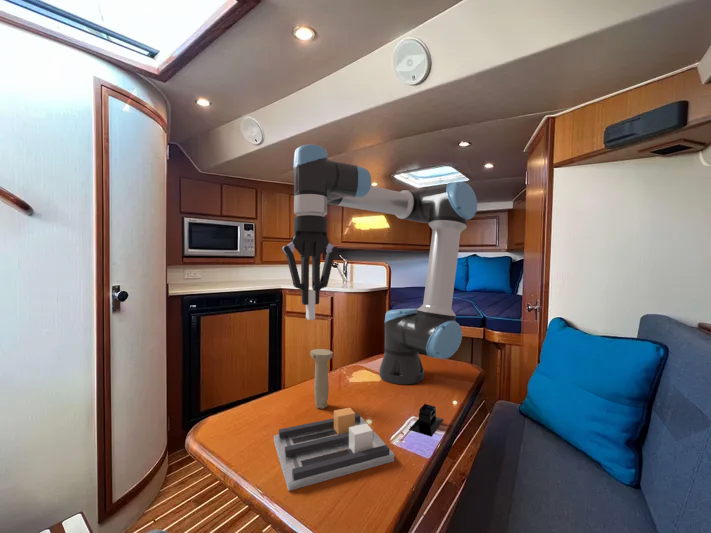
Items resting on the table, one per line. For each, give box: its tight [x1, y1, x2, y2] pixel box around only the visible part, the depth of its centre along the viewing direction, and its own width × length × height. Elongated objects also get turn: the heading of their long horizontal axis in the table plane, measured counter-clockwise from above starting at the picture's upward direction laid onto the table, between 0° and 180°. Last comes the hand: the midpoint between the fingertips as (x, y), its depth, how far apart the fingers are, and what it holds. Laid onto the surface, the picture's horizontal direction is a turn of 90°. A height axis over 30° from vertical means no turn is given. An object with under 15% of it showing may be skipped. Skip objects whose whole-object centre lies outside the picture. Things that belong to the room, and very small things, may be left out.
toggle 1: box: [333, 407, 356, 435], centre depth 72 cm, size 4×3×4 cm
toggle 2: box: [349, 422, 374, 453], centre depth 65 cm, size 4×3×4 cm
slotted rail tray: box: [278, 413, 391, 480], centre depth 66 cm, size 19×16×1 cm
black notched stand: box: [408, 403, 444, 438], centre depth 77 cm, size 12×7×5 cm, turn 147°
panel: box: [273, 416, 395, 492], centre depth 66 cm, size 21×16×2 cm
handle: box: [309, 348, 334, 410], centre depth 86 cm, size 5×6×15 cm
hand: (310, 318), depth 73 cm, fingers closed
